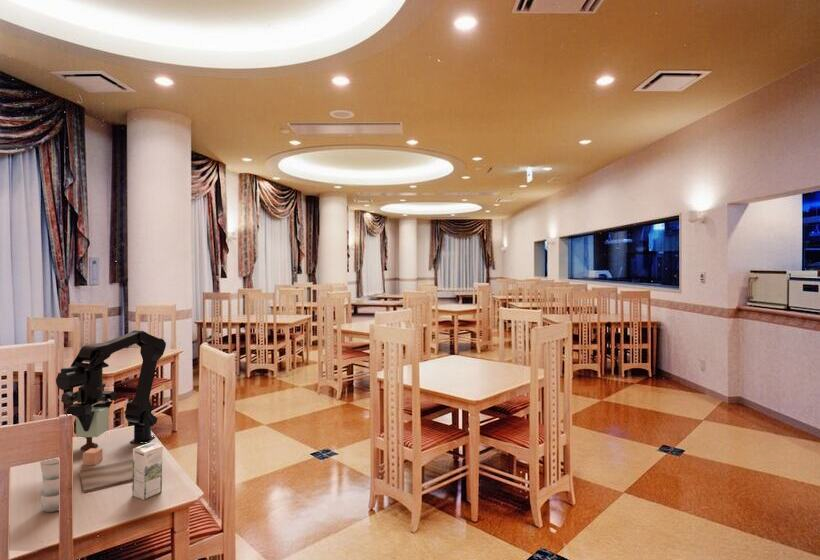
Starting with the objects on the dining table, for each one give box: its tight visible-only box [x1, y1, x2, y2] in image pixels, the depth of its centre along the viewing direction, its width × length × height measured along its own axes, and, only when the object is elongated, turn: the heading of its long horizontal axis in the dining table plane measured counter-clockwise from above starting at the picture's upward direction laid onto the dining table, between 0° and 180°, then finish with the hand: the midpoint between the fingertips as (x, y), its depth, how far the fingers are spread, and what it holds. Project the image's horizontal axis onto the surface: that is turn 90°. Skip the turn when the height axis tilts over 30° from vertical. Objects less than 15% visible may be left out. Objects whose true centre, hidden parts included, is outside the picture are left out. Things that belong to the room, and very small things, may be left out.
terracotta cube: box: [82, 447, 104, 466], centre depth 158 cm, size 4×4×4 cm
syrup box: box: [131, 441, 164, 501], centre depth 138 cm, size 6×6×14 cm
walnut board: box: [79, 458, 133, 493], centre depth 149 cm, size 16×16×1 cm
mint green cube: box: [75, 407, 109, 438], centre depth 158 cm, size 7×7×8 cm
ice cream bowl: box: [73, 406, 99, 452], centre depth 169 cm, size 11×11×15 cm
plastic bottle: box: [39, 459, 59, 513], centre depth 128 cm, size 6×7×20 cm
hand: (92, 427), depth 158 cm, fingers closed on mint green cube, 7 cm apart
